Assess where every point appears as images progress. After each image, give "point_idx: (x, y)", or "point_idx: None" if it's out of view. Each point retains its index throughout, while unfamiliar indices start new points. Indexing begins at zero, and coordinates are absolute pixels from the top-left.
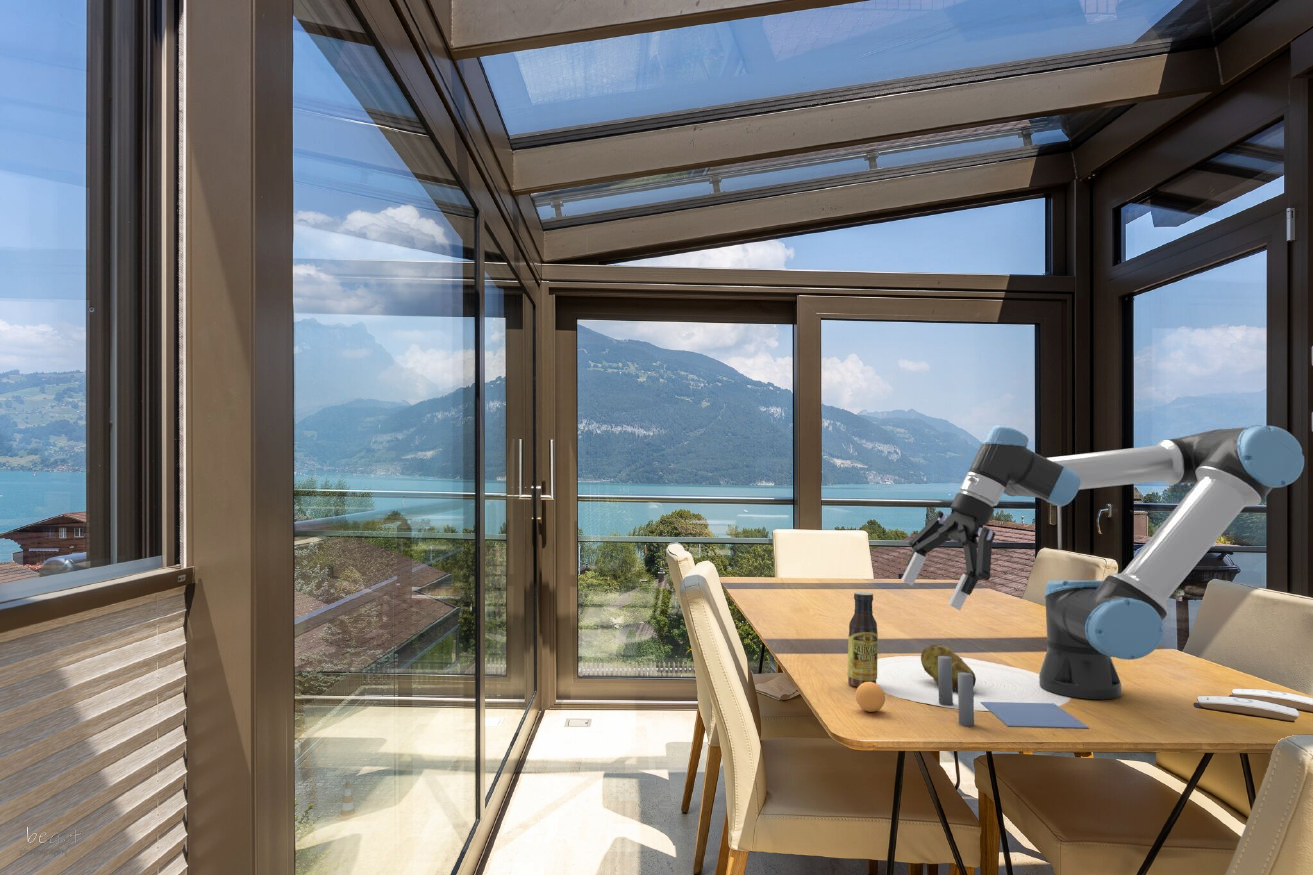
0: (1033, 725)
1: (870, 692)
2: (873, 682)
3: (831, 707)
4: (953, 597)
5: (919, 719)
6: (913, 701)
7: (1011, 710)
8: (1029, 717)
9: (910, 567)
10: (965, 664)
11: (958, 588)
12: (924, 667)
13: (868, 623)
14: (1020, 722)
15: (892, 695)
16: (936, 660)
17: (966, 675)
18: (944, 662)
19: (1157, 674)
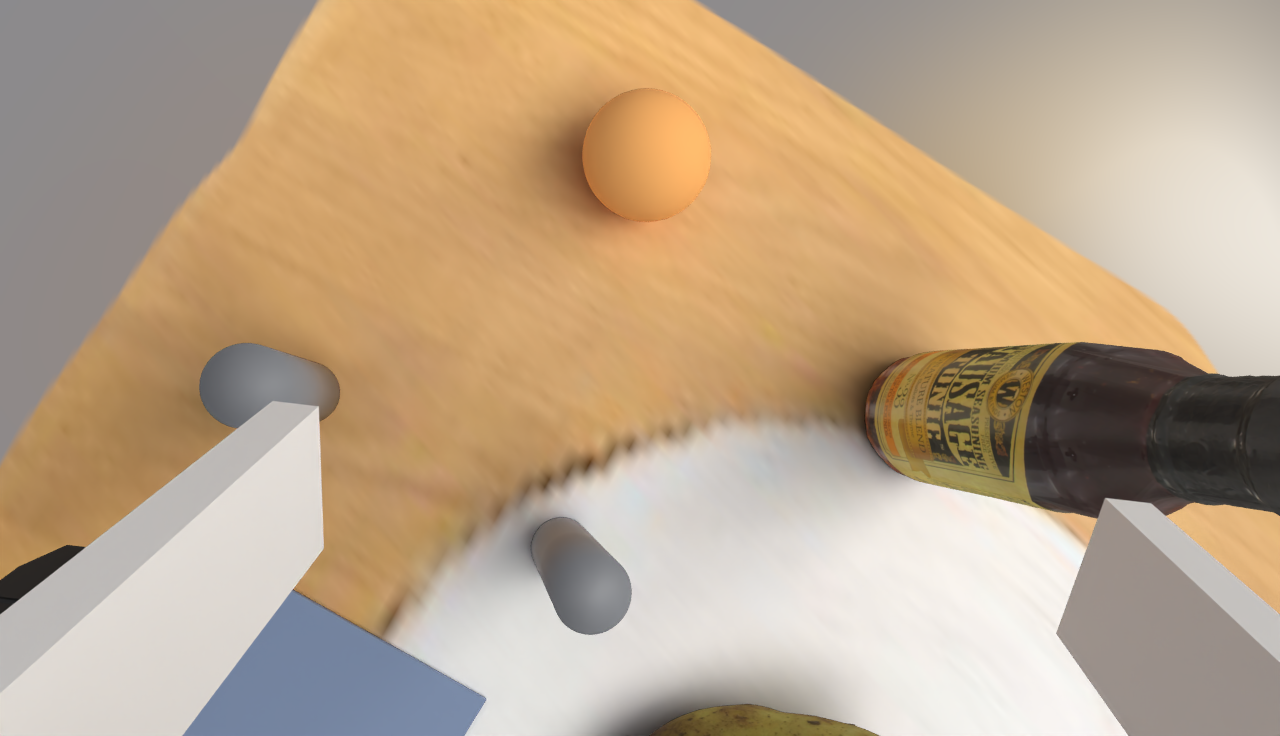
0: None
1: (613, 105)
2: (872, 426)
3: (742, 80)
4: (232, 445)
5: (456, 268)
6: (646, 437)
7: (322, 726)
8: (208, 719)
9: (1239, 628)
10: None
11: (133, 513)
12: (852, 724)
13: (1087, 412)
14: None
15: (749, 421)
16: None
17: (223, 370)
18: (565, 560)
19: None
